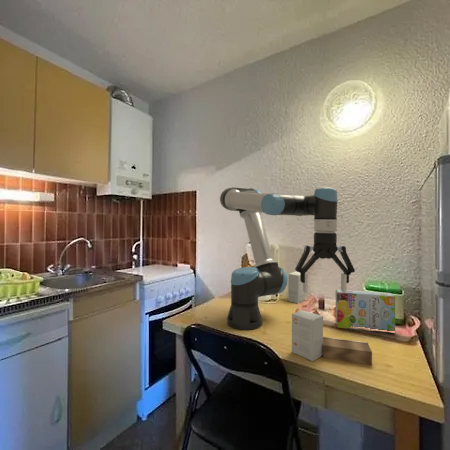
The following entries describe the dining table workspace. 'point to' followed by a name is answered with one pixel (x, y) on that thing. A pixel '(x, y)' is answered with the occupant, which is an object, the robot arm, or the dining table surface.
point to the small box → (307, 334)
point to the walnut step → (347, 350)
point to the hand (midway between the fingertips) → (324, 292)
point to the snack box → (365, 310)
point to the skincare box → (295, 288)
